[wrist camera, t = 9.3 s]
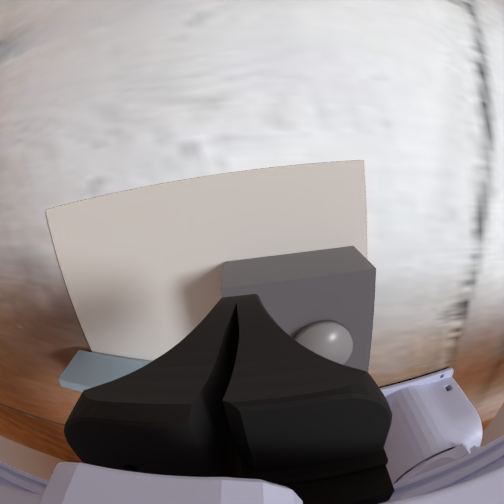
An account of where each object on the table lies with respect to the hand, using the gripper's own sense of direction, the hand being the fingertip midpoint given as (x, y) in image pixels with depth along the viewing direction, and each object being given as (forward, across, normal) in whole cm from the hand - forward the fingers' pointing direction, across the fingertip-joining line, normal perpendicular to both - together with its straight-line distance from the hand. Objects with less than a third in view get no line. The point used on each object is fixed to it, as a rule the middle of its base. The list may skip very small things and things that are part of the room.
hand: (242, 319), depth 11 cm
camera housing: (+9, -3, +6) cm, 11 cm away
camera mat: (+9, +3, +4) cm, 11 cm away
